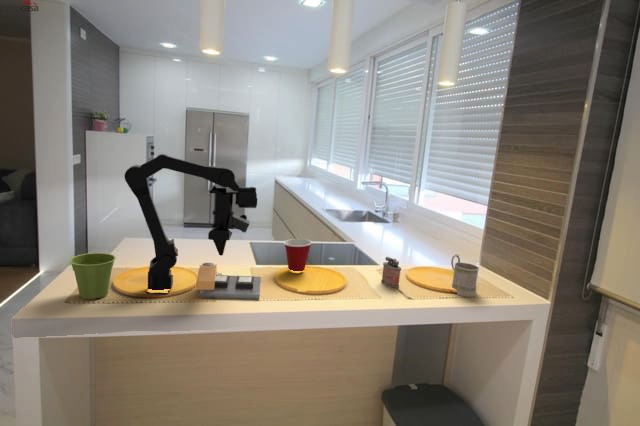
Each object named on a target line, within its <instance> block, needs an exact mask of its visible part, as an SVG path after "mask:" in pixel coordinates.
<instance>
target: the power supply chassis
mask: <svg viewBox="0 0 640 426" xmlns="http://www.w3.org/2000/svg"><path fill="white" fill-rule="evenodd" d="M261 279H262V277H261V276H250V275H249V276H248V275H228V274H227V275H225V274H224V275H223V274H222V275H221V274H218V275H217V274H216V276H215V286H214V290H200V292H199V298H200V297H215V298H214V299H229V300H230V299H234V300H235V299H237V300H238V299H239V300H260V297H261V296H260V295H261Z"/></svg>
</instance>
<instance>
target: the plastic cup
mask: <svg viewBox="0 0 640 426" xmlns="http://www.w3.org/2000/svg"><path fill="white" fill-rule="evenodd" d="M312 244H313V241H312V240H310V239H307V238H290V239H286V240H284V241H283V245H284V247H285V251H286V260H287V261H286V262H287V267H288V268H289V269H290V270H293V271H303V270H304V271H305V270H306V269H305V268H306V264H307V262H308V257H309V253H310V249H311V245H312ZM288 268H287V269H288Z"/></svg>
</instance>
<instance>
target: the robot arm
mask: <svg viewBox="0 0 640 426" xmlns="http://www.w3.org/2000/svg"><path fill="white" fill-rule="evenodd" d="M163 169H166V170H170V171H174V172H177V173H182V174H187V175H190V176H194V177H199V178H201V179H202V178H203V179H205V180H206V181H209V182H211V183H212V184H213V185H211V186H212V187H210V188H209V189H208V193H209V194H214V197H213V198H214V199H213V210H212V215H213V219H212V221H213V223H212V224H211V225H212V226H211V229H210V230H209V231H208V236H207V237H208V238H207V239H208V240H212V241H213V243H214V245H215V249H216V251H217V253H218V255H219V256H223V255H224V253H225V248H226V244H227V242H228V241H230V239H231V237H232V235H233V232H232V231H231V230H234V229H236V230H238V231H241V232H242V233H247V231H248V228H249V225H251V224H250V223H251V221H250V220H248V216H247V215H246V214H244V213H242V214H241V215H240V216H239V215H235V212H234V209H233V204H234V205H236V206H237V208H239V209H256V208H257V206H258V197H257V188H256V187H255V186H249V187H248V186H245V187H244V186H240V185H239V184H238V183H237V182H236V180H235V179H236V176H235V173H234V172H233V171H232V170H231V169H229V167H225V166H217V165H204V164H200V163H196V162H192V161H188V160H184V159H180V158H176V157H173V156H168V155H167V154H163V153H161V154H158V155H157V156H155V157H154V158H152V159H150V160H149V161H146V162H145V163H143V164H141V165H139V164H136V165H135V164H134V165H132V166H130V167H129V168H127V169H126V171H125V172H124V180H125V182H126V184H127V186H128V188H130V191H131V192H132V193H133V195H134V196H135V197H136V198H137V199H136V200H137V201H138V204H139V207H140V209H141V211H142V214H143V217H144V219H145V223H146V224H147V228H148V230H149V233H150V235H151V238H152V241H153V246H154V248H153V249H154V254H155V256H154V257H153V258H152V259H151V260H150V262H149V268H148V271H147V289H152V290H164V289H171V288H173V287H172V286H174V275H173V274H172V268H174V267H175V265H176V264H177V261H178V258H177V257H179V251H178V250H179V249H178V248H177V247H176V245H175V239H174V238H173V239H170V240H169V238H168V237H167V235H166V232H165V229H164V227H163V224H162V222H161V219H160V216H159V213H158V210H157V208H156V205H155V203H154V199H153V197H152V193H151V187H150V181H149V177H151V176H153V175H155V174H156V173H158V172H159V171H161V170H163ZM216 185H218V186H220V187H217V186H216ZM227 188H229V189H230V190H227ZM171 290H172V289H171Z"/></svg>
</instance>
